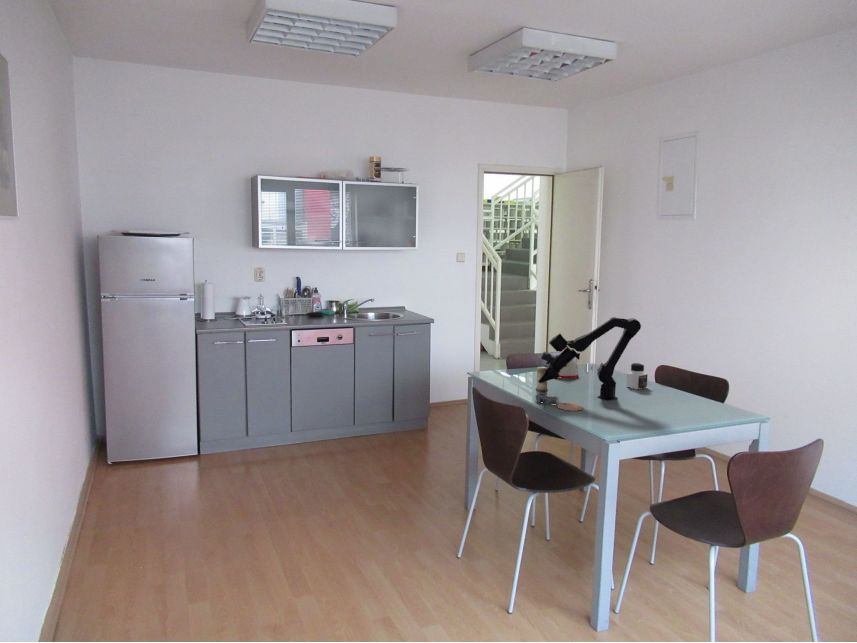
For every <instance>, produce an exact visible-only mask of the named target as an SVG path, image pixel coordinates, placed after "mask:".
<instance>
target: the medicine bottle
mask: <svg viewBox="0 0 857 643" xmlns="http://www.w3.org/2000/svg"><path fill="white" fill-rule="evenodd" d="M644 370H645V364H643V363H641V362H635V363H631V364H630V372H627V373H626V384H625V386H626V388H628V387H630V388H629V389H633V388H634V389H633V390H637V389H639V390H643V389H642V388H644V389H646V387H648V376H649V374H648V373H645V371H644Z"/></svg>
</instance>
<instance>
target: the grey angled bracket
mask: <svg viewBox="0 0 857 643" xmlns="http://www.w3.org/2000/svg"><path fill="white" fill-rule="evenodd" d="M544 400H546V401H549V405H550V404H556V405H557V400H556V399H555V397H553V396H548V395H547V396H544V394H542V392H540V393H539V394H538V396H537V398H536V403H537V402H538V403H537V404H540V403H541V402H543V403H544ZM541 404H542V403H541Z"/></svg>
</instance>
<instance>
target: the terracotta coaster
mask: <svg viewBox="0 0 857 643" xmlns="http://www.w3.org/2000/svg"><path fill="white" fill-rule="evenodd" d="M557 407H559V408H561V409H564V410H563V411H565V410H570V411H569V412H578V410H580V411H582V410H583V409H584V406H583V405H581V404H578V403H573V402H563V403H561V402H560V403H558V404H556V408H557ZM559 408H558V409H559ZM561 409H560V410H561Z"/></svg>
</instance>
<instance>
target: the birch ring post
mask: <svg viewBox="0 0 857 643" xmlns="http://www.w3.org/2000/svg"><path fill="white" fill-rule="evenodd" d="M536 368H537V369H536V388H535V391H536V393H535V394H537V395H538V394H539V393H540V392H542V394H544V395H547V396H548V392H549V389H548V381H545V382H542V383H539V382H538V381H539V380H540V379H541V377H542V376H543V375H544V374H545V368H547V367H545V366H538V367H536ZM537 395H536V396H537Z"/></svg>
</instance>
